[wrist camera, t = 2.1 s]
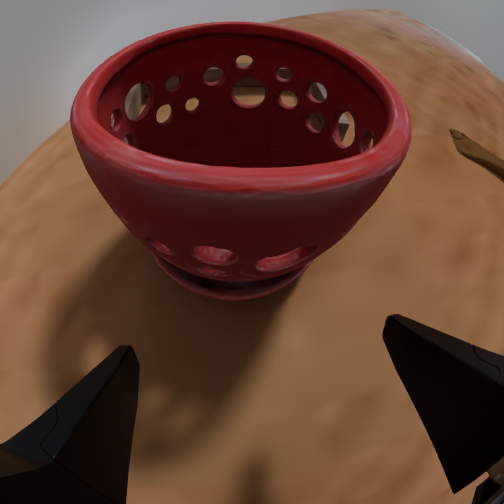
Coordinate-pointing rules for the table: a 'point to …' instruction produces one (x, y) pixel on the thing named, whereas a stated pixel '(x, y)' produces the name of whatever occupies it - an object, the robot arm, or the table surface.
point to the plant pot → (238, 152)
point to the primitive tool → (477, 152)
